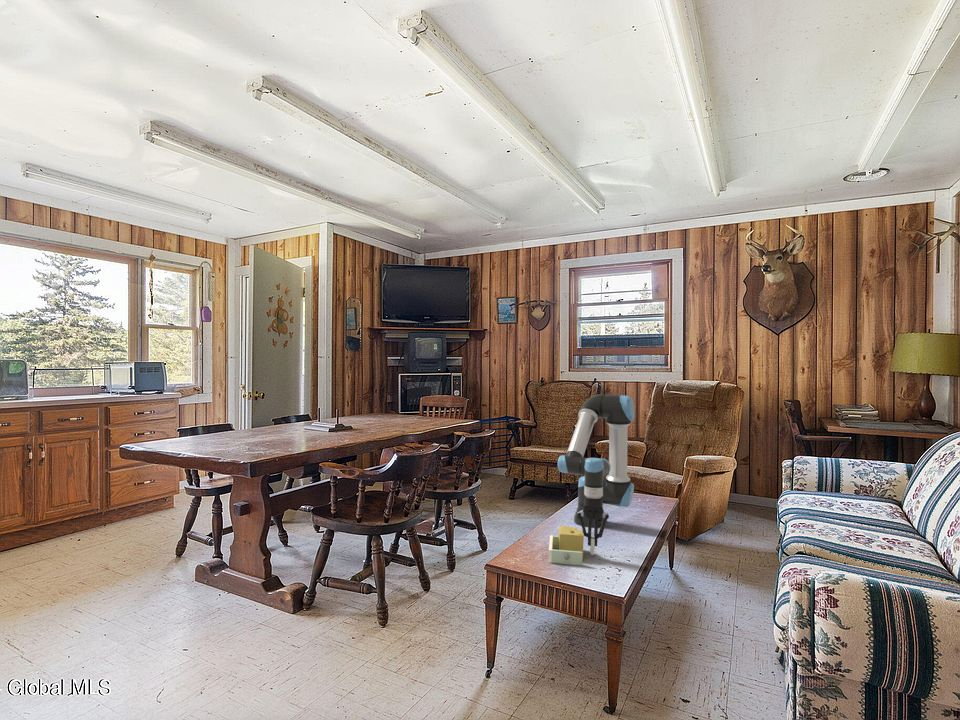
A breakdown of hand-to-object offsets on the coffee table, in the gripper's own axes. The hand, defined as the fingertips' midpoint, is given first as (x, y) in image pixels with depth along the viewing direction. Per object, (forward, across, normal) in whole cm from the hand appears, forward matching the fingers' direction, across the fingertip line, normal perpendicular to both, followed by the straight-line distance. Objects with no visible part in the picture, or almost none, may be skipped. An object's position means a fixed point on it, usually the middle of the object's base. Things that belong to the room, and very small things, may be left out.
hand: (592, 553), depth 211 cm
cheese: (+2, -9, +1) cm, 9 cm away
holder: (+2, -10, -1) cm, 11 cm away
